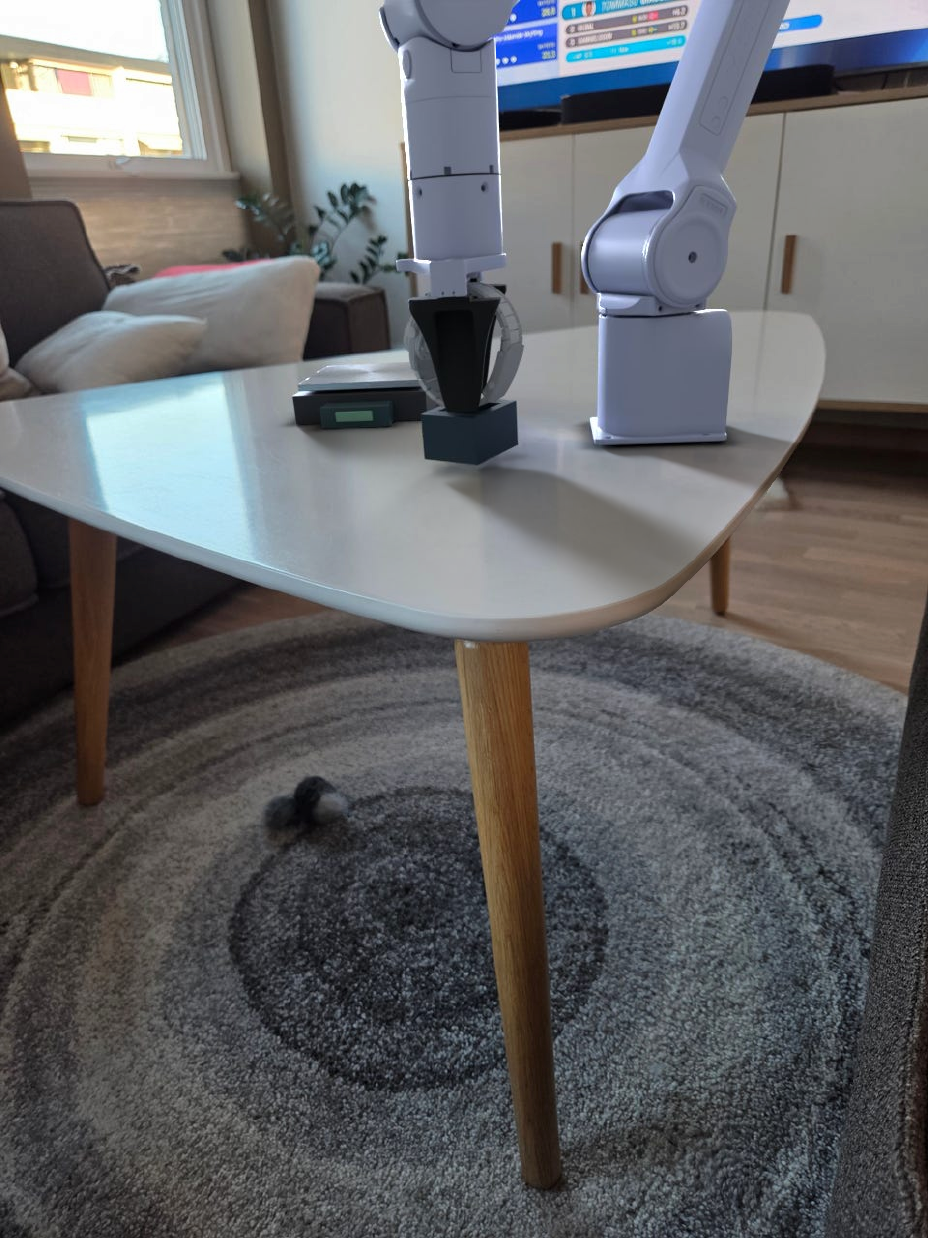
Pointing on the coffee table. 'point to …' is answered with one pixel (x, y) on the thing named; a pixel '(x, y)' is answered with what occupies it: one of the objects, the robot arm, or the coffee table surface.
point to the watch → (495, 418)
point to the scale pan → (361, 377)
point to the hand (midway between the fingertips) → (467, 401)
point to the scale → (361, 406)
